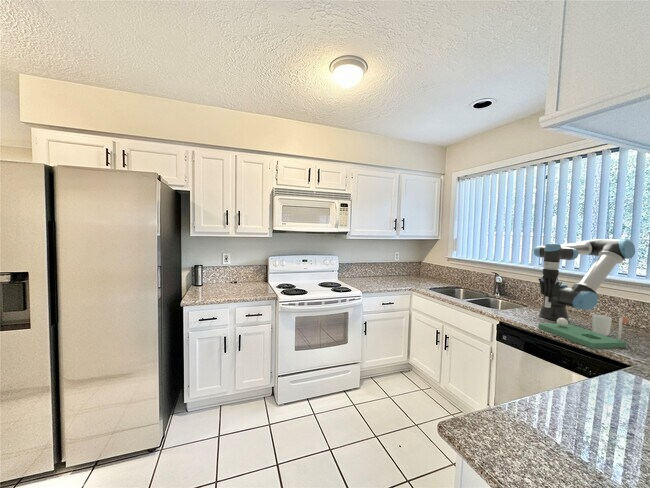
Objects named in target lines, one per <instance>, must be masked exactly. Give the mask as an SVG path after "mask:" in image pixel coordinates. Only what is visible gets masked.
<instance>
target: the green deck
mask: <svg viewBox="0 0 650 488" xmlns="http://www.w3.org/2000/svg"><path fill="white" fill-rule="evenodd" d="M618 321H619V322H618V333H617V338H615V337H611V336H609V335H608V336H605V335H602V334H599V333H596V332H593V331H592V330H589V329H586V328H583V327H580V326H577V325H574V324H572V323H571V324H570V323H568V325H567V326H565V327H561V326H559V325H558V324H557V323H538V329H541V330H542V331H546V332H548V333H551V334H552V335H553V334H554V335H556V336H560V337H562V338H564V339H567V340H570V341H573V342H575V343H578V344H580V345H583V346H585V347H587V348H590V349H610V348H612V349H613V348H614V349H615V348H617V349H618V347H620V348H626V347H627V346H626V345H627V342H625V341H623V340H621V339H622V332H623V331H622V329H623V323H624V324H625V323H628V322H629V318H628V317H619V320H618Z"/></svg>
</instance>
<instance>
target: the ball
mask: <svg viewBox="0 0 650 488" xmlns="http://www.w3.org/2000/svg"><path fill="white" fill-rule="evenodd" d="M556 324H558V325H559V326H561V327H565V326H567V325H568V324H569V321H567V320H566V319H565V318H559V319H557V321H556Z"/></svg>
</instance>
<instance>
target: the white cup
mask: <svg viewBox="0 0 650 488" xmlns="http://www.w3.org/2000/svg"><path fill="white" fill-rule="evenodd" d="M612 320H613V318H612V317H611V316H608V315H603V314H598V313H597V314H596V313H593V314H591V327H592V328H591V331H593V332H596V333H599V334H602V335H605V336H608V337H609V336H610V332H611V327H612Z"/></svg>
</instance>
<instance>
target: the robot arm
mask: <svg viewBox="0 0 650 488" xmlns="http://www.w3.org/2000/svg"><path fill="white" fill-rule="evenodd" d="M533 253H534V256H535V257H536V258H537V257H538V258H543V264H542V265H543V266H542V277H541V278H538V281H539V287H540V293H541V295H543V304H542V307H541V308H540V310H539V315H538V316H539V317H541V318H544V319H548V320H552V321H556V322H557V319H559V318H565V319H566V320H567V321H568V322H569V320H570V317H569V315H568V312H567V307H571V308H574V309H576V310H577V309H578V310H582V311H588V310H589V311H590V310H592V309H594V308H595V307H596V306H597V305H598V301H599V297H598V292H597V291H598V289H599V287H600V286H601V285H602V283H604V281H605V279H606V278H607V277H608V276H609V274H610V273H611V272H612V270H613V269H614V268H615V266H617V265H618V264H621V263H623V262H624V261H625V259H626V260H628V259H633V257H634V256H635V254H636V247H635V244H634V243H633V241H631V240H629V239H622V238H620V239H616V238H615V239H612V238H611V239H610V238H597V239H589V240H588V239H587V240H581V241H579V242H575V243H566V244H560V243H546V244H545V245H537V246H536V247H534V249H533ZM579 255H582V256H593V257H594V256H595V257H598V258H597V259H596V260H595V262H594V263H593V264H592V266H591V267H590V268H589V269H588V271H587V272H586V274H584V276H583V277H582V279H581V280H580V281H579V282H578V283H577V282H576V283H573V285H572V286H571V287H569V285H568V284H565V283H564V284H563V282H562V281H559V278H558V277H559V273H560V264H561V263H560V262H561V260H562V261H563V260H564V261H573V260H575V259H577V258H578V257H579Z"/></svg>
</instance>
